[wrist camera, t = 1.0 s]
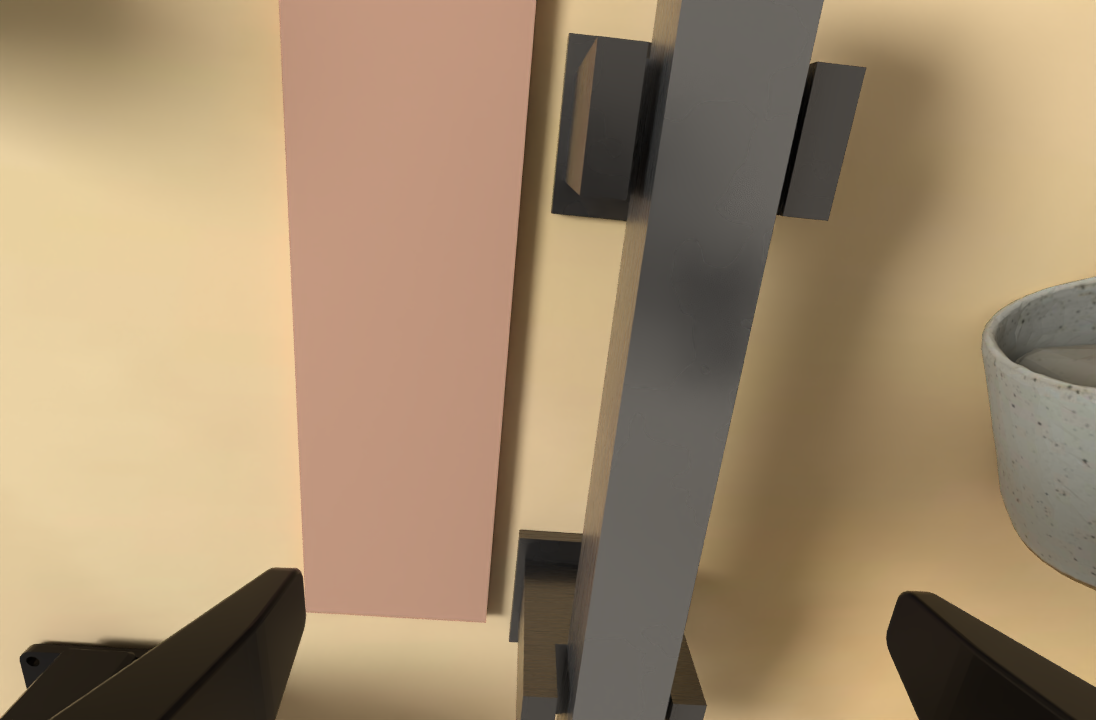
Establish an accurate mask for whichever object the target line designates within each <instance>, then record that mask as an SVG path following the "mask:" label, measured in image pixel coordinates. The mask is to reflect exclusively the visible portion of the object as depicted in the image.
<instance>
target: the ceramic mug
mask: <svg viewBox="0 0 1096 720" xmlns="http://www.w3.org/2000/svg"><path fill="white" fill-rule="evenodd" d="M981 350H982V356H983V362H984V368H985V374H986V381H987V389H988V396H989V403H990V411H991V419H992V428H993V434H994V441H995V447H996V453H997V466H998V475H999V484H1000V492H1001V495H1002V498H1003V501H1004V504H1005V507H1006V510H1007V512H1008V514H1009V517H1010V519H1011V521H1012V524H1013V526H1014V529H1015V530H1016V532H1017V533H1018V535H1019V537H1020V538H1021V539H1022V541H1023V542H1024V543H1025V545H1026V546H1027V547H1028V548H1029V550H1031V551H1032V552H1033V553H1034V554H1035V555H1036V556H1037V557H1038V558H1040V559H1041V560H1042V561H1043V562H1045V563H1046V564H1048V565H1049V566H1051V567H1052V568H1053V569H1055V570H1056V571H1058V572H1059V573H1061V574H1062V575H1064V576H1066V577H1068V578H1070V579H1072V580H1074V581H1076V582H1078V583H1081V584H1083V585H1085V586H1087V587H1089V588H1092V589H1094V590H1096V277H1092V278H1087V279H1083V280H1078V281H1073V282H1069V283H1066V284H1062V285H1058V286H1054V287H1050V288H1046V289H1044V290H1041V291H1038V292H1035V293H1032V294H1030V295H1027V296H1025V297H1023V298H1021V299H1019V300H1016V301H1014V302H1012V303H1010V304H1009V305H1007V306H1006V307H1004V308H1003V309H1001V310H999V311H998V312H997V313H996V314H995V315H994V316H993V317H992V318H991V319H990V321H989V322H988V323H987V324H986V326H985V329H984V331H983V334H982V348H981Z"/></svg>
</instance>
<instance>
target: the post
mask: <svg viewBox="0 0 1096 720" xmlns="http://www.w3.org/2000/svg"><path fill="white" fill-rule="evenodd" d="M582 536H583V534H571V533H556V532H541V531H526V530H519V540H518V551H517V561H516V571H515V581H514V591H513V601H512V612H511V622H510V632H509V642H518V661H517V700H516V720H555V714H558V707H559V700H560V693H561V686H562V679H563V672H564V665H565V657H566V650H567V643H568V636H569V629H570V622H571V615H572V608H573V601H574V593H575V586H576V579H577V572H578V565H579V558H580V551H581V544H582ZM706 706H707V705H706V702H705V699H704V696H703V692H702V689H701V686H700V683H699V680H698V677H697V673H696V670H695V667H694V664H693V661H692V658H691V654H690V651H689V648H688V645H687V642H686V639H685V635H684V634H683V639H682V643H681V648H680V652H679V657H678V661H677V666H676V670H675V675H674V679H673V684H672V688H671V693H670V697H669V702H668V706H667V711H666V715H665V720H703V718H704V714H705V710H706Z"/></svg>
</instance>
